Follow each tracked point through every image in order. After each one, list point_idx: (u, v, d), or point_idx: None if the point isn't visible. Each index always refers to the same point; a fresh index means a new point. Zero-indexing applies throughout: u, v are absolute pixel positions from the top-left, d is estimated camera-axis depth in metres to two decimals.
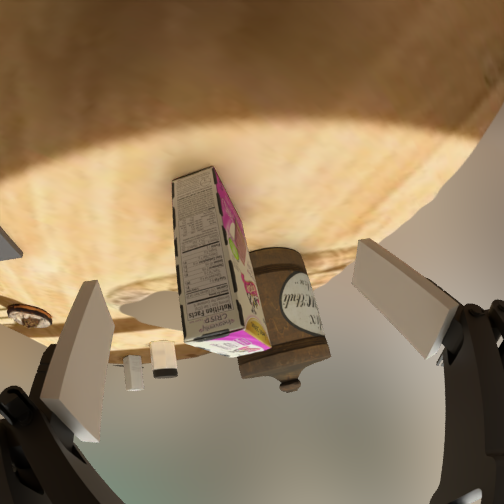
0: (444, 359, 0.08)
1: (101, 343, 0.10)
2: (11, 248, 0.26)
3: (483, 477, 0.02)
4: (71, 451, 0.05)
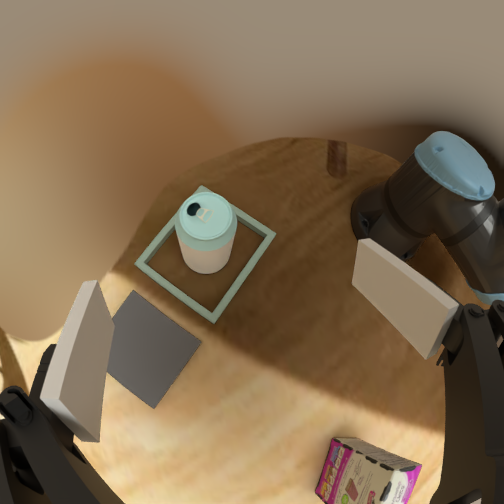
0: (444, 359, 0.08)
1: (101, 343, 0.10)
2: (161, 393, 0.31)
3: (482, 477, 0.02)
4: (71, 451, 0.05)
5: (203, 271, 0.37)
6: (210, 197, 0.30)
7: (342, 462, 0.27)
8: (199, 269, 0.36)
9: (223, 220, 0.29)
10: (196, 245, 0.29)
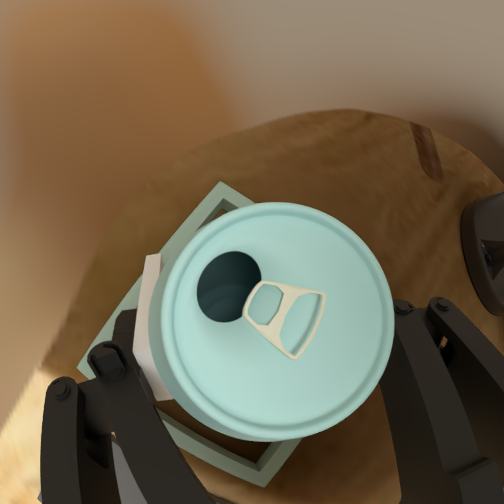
0: None
1: None
2: None
3: (447, 494, 0.02)
4: (152, 408, 0.07)
5: None
6: (298, 228, 0.07)
7: None
8: None
9: (362, 332, 0.06)
10: (249, 436, 0.06)
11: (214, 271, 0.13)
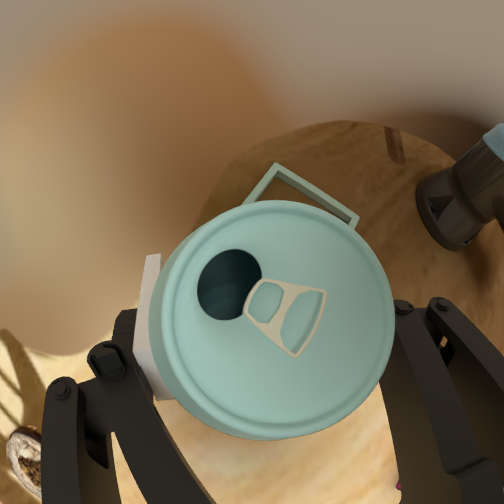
0: None
1: None
2: None
3: (447, 494, 0.02)
4: (153, 408, 0.07)
5: None
6: (299, 226, 0.07)
7: None
8: None
9: (362, 331, 0.06)
10: (250, 434, 0.06)
11: (214, 270, 0.13)
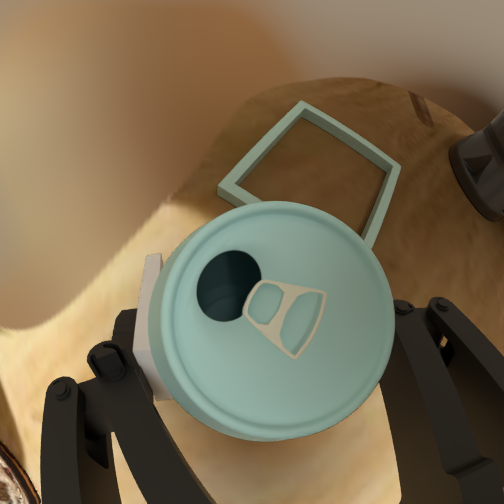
0: None
1: None
2: None
3: (447, 495, 0.02)
4: (153, 408, 0.07)
5: None
6: (299, 228, 0.07)
7: None
8: None
9: (362, 332, 0.06)
10: (250, 436, 0.06)
11: (214, 271, 0.13)
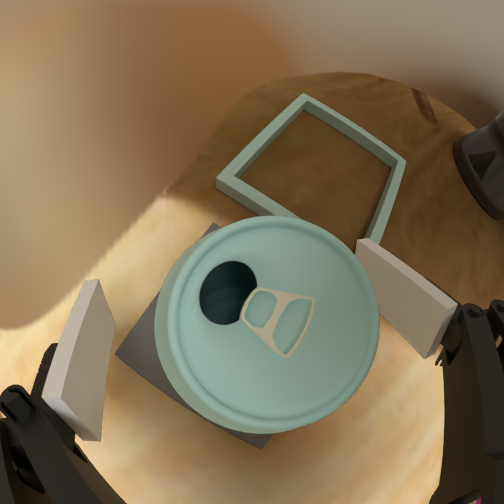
0: (443, 359, 0.08)
1: (102, 342, 0.10)
2: None
3: (482, 477, 0.02)
4: (72, 450, 0.05)
5: None
6: (291, 239, 0.08)
7: None
8: None
9: (348, 334, 0.07)
10: (246, 428, 0.06)
11: (214, 275, 0.14)
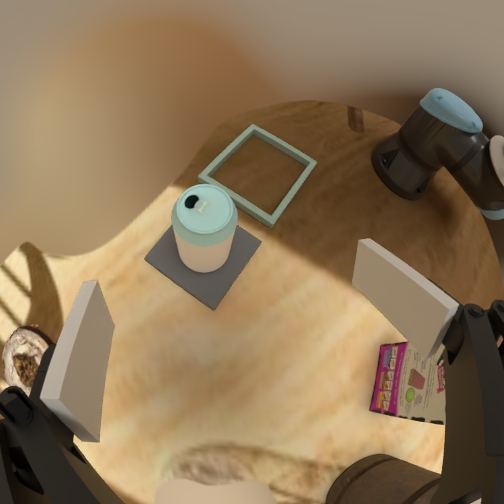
0: (444, 359, 0.08)
1: (101, 343, 0.10)
2: (222, 292, 0.36)
3: (482, 477, 0.02)
4: (71, 451, 0.05)
5: (201, 269, 0.35)
6: (209, 190, 0.28)
7: (397, 359, 0.32)
8: (196, 267, 0.34)
9: (223, 213, 0.27)
10: (194, 239, 0.27)
11: None
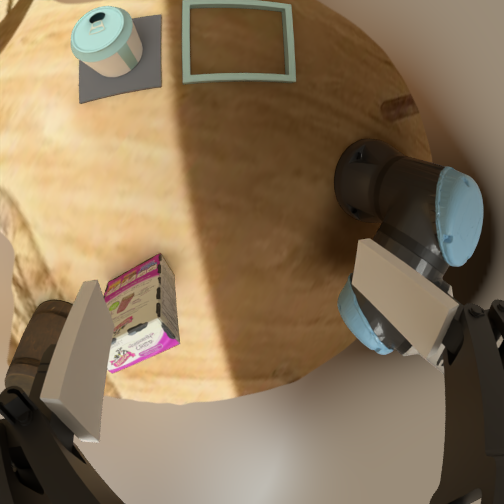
0: (444, 359, 0.08)
1: (101, 343, 0.10)
2: (95, 96, 0.28)
3: (483, 477, 0.02)
4: (71, 451, 0.05)
5: None
6: (118, 17, 0.16)
7: (144, 275, 0.36)
8: None
9: (102, 42, 0.17)
10: (72, 47, 0.16)
11: None
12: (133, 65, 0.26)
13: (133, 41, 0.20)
